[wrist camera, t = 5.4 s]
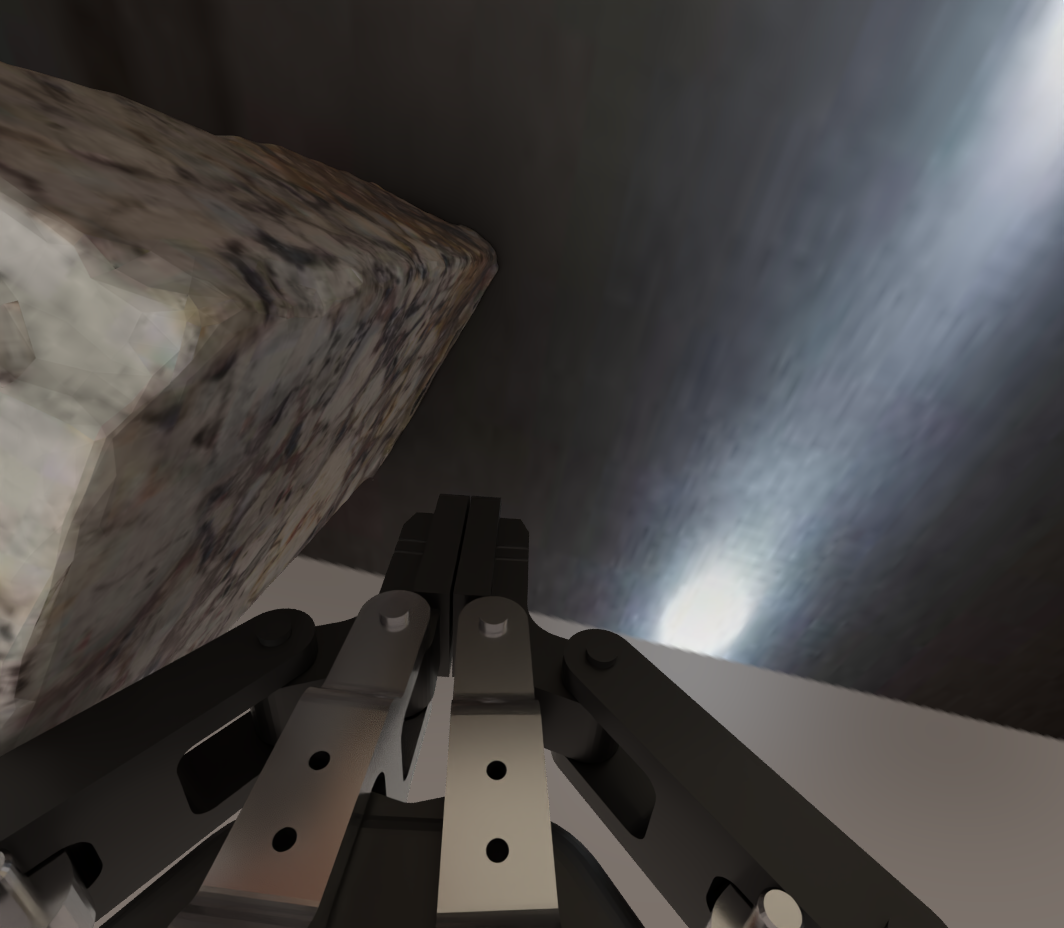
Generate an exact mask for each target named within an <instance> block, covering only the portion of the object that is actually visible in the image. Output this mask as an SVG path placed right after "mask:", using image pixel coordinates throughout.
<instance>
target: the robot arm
mask: <svg viewBox="0 0 1064 928" xmlns="http://www.w3.org/2000/svg"><path fill="white" fill-rule="evenodd" d="M500 512H501V498H495V497H480V496H472V498H471V503H470V496H464V495H449V494H440V496H439V499H438V503H437V506H436V510H435V513H434V514H432V513H416V514H415V515H414V516H413V517H411V518H410V519H409V520H408V521H407V522H406V523H405V524H404V526H403V528H402V531H401V534H400V537H399V541H398V542H397V545H396V548H395V553H394V554H393V556H392V559H391V562H390V565H389V568H388V570H387V573H386V576H385V579H384V582H383V584H382V588H381V590H380V593H379V594H378V595H376V596H374V597H372V598H371V599H370V600H368V601H367V602H366V603H365V604H364V605H363V606H362V608H361V610H360V612H359V614H358V616H357V617H354V618H352V619H349V620H346V621H342V622H337V623H332V624H326V625H321V626H315V624H314V622H313V620H312V618H311V617H310V616H309V615H308V614H306V613H305V612H302V611H300V610H296V609H276V610H272V611H268V612H265V613H262V614H260V615H258V616H256V617H254V618H252V619H250V620H248V621H247V622H245V623H243V624H241V625H239V626H237V627H236V628H234V629H232V630H230V631H228V632H227V633H225V634H223V635H221V636H219V637H217V638H216V639H214V640H212V641H210V642H208V643H206V644H205V645H203V646H201V647H199V648H197V649H195V650H194V651H192V652H190V653H188V654H186V655H185V656H183V657H181V658H179V659H177V660H175V661H174V662H172V663H170V664H168V665H166V666H164V667H163V668H161V669H159V670H157V671H155V672H153V673H152V674H150V675H148V676H146V677H144V678H142V679H141V680H139V681H137V682H135V683H133V684H132V685H130V686H128V687H126V688H124V689H122V690H121V691H119V692H117V693H115V694H113V695H111V696H110V697H108V698H106V699H104V700H102V701H100V702H99V703H97V704H95V705H93V706H91V707H90V708H88V709H86V710H84V711H82V712H80V713H79V714H77V715H75V716H73V717H71V718H69V719H68V720H66V721H64V722H62V723H60V724H58V725H57V726H55V727H53V728H51V729H49V730H48V731H46V732H44V733H42V734H40V735H38V736H37V737H35V738H33V739H31V740H29V741H27V742H26V743H24V744H22V745H20V746H18V747H16V748H15V749H13V750H11V751H9V752H7V753H6V754H4V755H2V756H0V928H93V926H94V923H95V922H96V921H98V920H99V919H100V918H101V917H103V916H104V915H105V914H107V913H108V912H109V911H110V910H112V909H113V908H114V907H115V906H117V905H118V904H119V903H121V902H122V901H123V900H125V899H126V898H127V897H128V896H130V895H131V894H132V893H134V892H135V891H136V890H137V889H138V888H140V887H141V886H142V885H144V884H145V883H146V882H148V881H149V880H150V879H151V878H153V877H154V876H155V875H157V874H158V873H159V872H160V871H161V870H163V869H164V868H165V867H167V866H168V865H169V864H171V863H172V862H173V861H175V860H176V859H177V858H178V857H180V856H181V855H182V854H184V853H185V852H186V851H187V850H189V849H190V848H191V847H192V846H194V845H195V844H196V843H198V842H199V841H200V840H201V839H203V838H204V837H205V836H207V835H208V834H209V833H210V832H212V831H213V830H214V829H216V828H217V827H218V826H219V825H221V824H222V823H223V822H225V821H226V820H227V819H228V818H230V817H231V816H232V815H234V814H235V813H236V812H237V811H238V810H240V809H241V808H242V810H241V811H240V813H239V815H238V817H237V819H236V820H234V821H232V822H231V823H229V824H227V825H226V826H224V827H223V828H221V829H220V830H219V831H217V832H215V833H214V834H212V835H211V836H210V837H209V838H207V839H206V840H205V841H203V842H202V843H201V844H200V845H199V846H197V847H196V848H195V849H194V850H193V851H191V852H190V853H189V854H188V855H186V856H185V857H184V858H183V859H182V860H180V861H179V862H178V863H177V864H175V865H174V866H173V867H172V868H171V869H169V870H168V871H167V872H166V873H165V874H163V875H162V876H161V877H160V878H158V879H157V880H156V881H155V882H154V883H152V884H151V885H150V886H149V887H148V888H146V889H145V890H144V891H143V892H142V893H140V894H139V895H138V896H137V897H135V898H134V899H133V900H132V901H131V902H129V903H128V904H127V905H126V906H125V907H123V908H122V909H121V910H120V911H119V912H117V913H116V914H115V915H114V916H112V917H111V918H110V919H109V920H107V922H105V923H104V924H103V925H101V926H100V927H99V928H645V927H644V926H643V924H642V923H641V921H640V920H639V919H638V917H637V916H636V915H635V913H634V912H633V910H632V909H631V908H630V906H629V905H628V903H627V902H626V900H625V899H624V898H623V896H622V895H621V894H620V892H619V891H618V889H617V888H616V887H615V885H614V884H613V882H612V881H611V879H610V878H609V877H608V875H607V874H606V873H605V871H604V870H603V868H602V867H601V865H600V864H599V863H598V861H597V860H596V859H595V858H594V856H593V855H592V854H591V853H590V852H589V851H588V850H587V848H586V847H585V846H584V845H583V844H582V843H581V842H579V841H578V840H577V839H576V838H575V837H574V836H573V835H571V834H570V833H569V832H567V831H566V830H564V829H563V828H561V827H560V826H558V825H557V824H555V823H553V822H551V821H550V811H549V800H548V789H547V778H546V767H545V756H544V748H546V749H548V750H551V754H552V756H553V759H554V762H555V763H556V764H557V766H558V767H559V769H560V770H561V771H562V772H563V774H564V775H565V776H566V777H567V778H568V780H569V781H570V782H571V783H572V785H573V786H574V787H575V788H576V790H577V791H578V792H579V793H580V795H581V796H582V797H583V798H584V799H585V801H586V802H587V803H588V804H589V805H590V807H591V808H592V809H593V810H594V812H595V813H596V814H597V815H598V816H599V818H600V819H601V820H602V821H603V823H604V824H605V825H606V826H607V828H608V829H609V830H610V831H611V832H612V834H613V835H614V836H615V838H616V839H617V840H618V841H619V842H620V844H621V845H622V846H623V847H624V848H625V850H626V851H627V852H628V853H629V855H630V856H631V857H632V858H633V860H634V861H635V862H636V863H637V865H638V866H639V867H640V868H641V869H642V871H643V872H644V873H645V874H646V876H647V877H648V878H649V879H650V880H651V882H652V883H653V884H654V885H655V887H656V888H657V889H658V890H659V892H660V893H661V894H662V895H663V896H664V898H665V899H666V900H667V901H668V903H669V904H670V905H671V906H672V908H673V909H674V910H675V911H676V913H677V914H678V915H679V916H680V917H681V919H682V920H683V921H684V922H685V924H686V925H687V926H688V927H689V928H948V927H947V926H946V925H945V924H944V923H943V921H942V920H941V919H940V918H939V917H938V916H937V915H936V914H935V913H934V912H933V911H932V910H931V909H930V908H928V907H927V906H926V905H925V904H924V903H923V902H922V901H920V900H919V899H918V898H917V897H916V896H915V895H913V893H911V892H910V891H909V890H908V889H907V888H906V887H905V886H903V885H902V884H901V883H900V882H899V881H898V880H897V879H896V878H894V877H893V876H892V875H891V874H890V873H889V872H888V871H886V870H885V869H884V868H883V867H882V866H881V865H880V864H879V863H877V862H876V861H875V860H874V859H873V858H872V857H871V856H870V855H868V854H867V853H866V852H865V851H864V850H863V849H862V848H860V847H859V846H858V845H857V844H856V843H855V842H854V841H853V840H851V839H850V838H849V837H848V836H847V835H846V834H845V833H844V832H842V831H841V830H840V829H839V828H838V827H837V826H836V825H834V824H833V823H832V822H831V821H830V820H829V819H828V818H827V817H825V816H824V815H823V814H822V813H821V812H819V810H817V809H816V808H815V807H814V806H813V805H812V804H811V803H809V802H808V801H807V800H806V799H805V798H804V797H803V796H802V795H800V794H799V793H798V792H797V791H796V790H795V789H794V788H792V787H791V786H790V785H789V784H788V783H787V782H786V781H785V780H784V779H782V778H781V777H780V776H779V775H778V774H777V773H776V772H774V771H773V770H772V769H771V768H770V767H769V766H767V764H765V763H764V762H763V761H762V760H761V759H759V757H757V756H756V755H755V754H754V753H753V752H752V751H751V750H750V749H748V748H747V747H746V746H745V745H744V744H743V743H741V741H739V740H738V739H737V738H736V737H735V736H734V735H732V734H731V733H730V732H729V731H728V730H727V729H726V728H725V727H724V726H722V725H721V724H720V723H719V722H718V721H717V720H716V719H714V718H713V717H712V716H711V715H710V714H709V713H708V712H707V711H705V710H704V709H703V708H702V707H701V706H700V705H699V704H697V703H696V702H695V701H694V700H693V699H691V697H690V696H688V695H687V694H686V693H685V692H684V691H683V690H681V689H680V688H679V687H678V686H677V685H676V684H675V683H674V682H673V681H671V680H670V679H669V678H668V677H667V676H666V675H664V673H662V672H661V671H660V670H659V669H658V668H657V667H655V666H654V665H653V664H652V663H651V662H650V661H649V660H648V659H647V658H645V657H644V656H643V655H642V654H641V653H640V652H639V651H637V650H636V649H635V648H634V647H633V646H632V645H631V644H630V643H628V642H627V641H626V640H625V639H624V638H622V637H621V636H619V635H617V634H615V633H613V632H610V631H606V630H601V629H588V630H584V631H581V632H578V633H576V634H575V635H573V636H572V637H571V638H570V639H569V640H568V639H565V638H562V637H559V636H556V635H553V634H551V633H548V632H547V631H545V630H543V629H542V628H540V627H539V626H538V625H537V624H536V623H535V622H534V621H533V620H532V618H531V616H530V614H529V612H528V607H527V594H528V552H529V550H528V549H529V532H528V530H527V529H526V527H525V525H524V524H523V522H522V521H521V519H507V518H500ZM452 657H453V662H452ZM451 663H453V665H452V677H454V691H453V700H452V703H451V716H450V731H449V745H448V760H447V774H446V789H445V797H441V798H436V799H431V800H426V801H421V802H417V803H407V797H408V793H409V789H410V785H411V781H412V778H413V774H414V771H415V767H416V763H417V760H418V756H419V753H420V749H421V746H422V742H423V738H424V735H425V731H426V727H427V724H428V720H429V717H430V713H431V709H432V698H433V695H434V691H435V686H436V681H437V676H442V677H449V674H450V668H451ZM249 708H250V710H251V711H249V712H248V713H246V714H245V715H243V716H242V717H240V718H239V719H237V720H236V721H234V722H233V723H231V724H230V725H228V726H227V727H225V728H224V729H222V730H221V731H219V732H218V733H216V734H215V735H213V736H212V737H210V738H209V739H207V740H206V741H204V742H203V743H201V744H200V745H198V746H197V747H195V748H194V749H192V750H191V751H189V752H188V753H186V752H187V751H188V750H189V749H190V748H191V747H192V746H194V745H195V744H196V743H198V742H199V741H201V740H202V739H204V738H205V737H207V736H208V735H210V734H211V733H213V732H214V731H216V730H218V729H219V728H220V727H222V726H223V725H225V724H227V723H228V722H229V721H231V720H233V719H234V718H236V717H237V716H239V715H240V714H242V713H243V712H245V711H246V710H248V709H249ZM185 753H186V754H185ZM184 754H185V755H184Z"/></svg>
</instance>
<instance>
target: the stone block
mask: <svg viewBox="0 0 1064 928" xmlns="http://www.w3.org/2000/svg"><path fill="white" fill-rule="evenodd" d="M498 268H499V267H498V264H497V255H496V252H495V250H494V249H493V247H492V246H491V245H490V243H489V242H488V241H486V240H485V239H483V238H482V237H481V236H480V235H479V234H478V233H477V232H475V231H474V230H472V229H470V228H468V227H466V226H463V225H461V224H460V225H458V226H457V225H454V224H450V223H447V222H445V221H444V220H442V219H440V218H438V217H436V216H434V215H432V214H429V213H426V212H424V211H422V210H420V209H419V208H417V207H415V206H413V205H412V204H410V203H408V202H406V201H405V200H403V199H400V198H398V197H396V196H395V195H393V194H391V193H389V192H387V191H385V190H384V189H383V188H381V187H380V186H378V185H377V184H375V183H372V182H370V183H369V182H366V181H363V180H361V179H359V178H357V177H355V176H354V175H352V174H350V173H348V172H346V171H341V170H337V169H335V168H332V167H329V166H327V165H326V164H324V163H322V162H319V161H315V160H312V159H309V158H307V157H304V156H302V155H300V154H298V153H295V152H292V151H290V150H288V149H286V148H283V147H281V146H277V145H273V144H262V143H257V142H253V141H250V140H247V139H244V138H241V137H237V136H214V135H212V134H210V133H208V132H206V131H204V130H201V129H199V128H197V127H195V126H192V125H190V124H188V123H185V122H183V121H180V120H178V119H176V118H173V117H171V116H168V115H166V114H163V113H161V112H159V111H156V110H154V109H151V108H149V107H146V106H144V105H142V104H139V103H137V102H134V101H132V100H130V99H127V98H125V97H122V96H120V95H117V94H114V93H109V92H105V91H100V90H95V89H90V88H87V87H84V86H81V85H78V84H75V83H72V82H69V81H66V80H63V79H59V78H56V77H52V76H49V75H45V74H42V73H38V72H35V71H31V70H28V69H24V68H20V67H16V66H12V65H8V64H5V63H3V62H0V756H2V755H4V754H6V753H7V752H9V751H11V750H13V749H15V748H16V747H18V746H20V745H22V744H24V743H26V742H27V741H29V740H31V739H33V738H35V737H37V736H38V735H40V734H42V733H44V732H46V731H48V730H49V729H51V728H53V727H55V726H57V725H58V724H60V723H62V722H64V721H66V720H68V719H69V718H71V717H73V716H75V715H77V714H79V713H80V712H82V711H84V710H86V709H88V708H90V707H91V706H93V705H95V704H97V703H99V702H100V701H102V700H104V699H106V698H108V697H110V696H111V695H113V694H115V693H117V692H119V691H121V690H122V689H124V688H126V687H128V686H130V685H132V684H133V683H135V682H137V681H139V680H141V679H142V678H144V677H146V676H148V675H150V674H152V673H153V672H155V671H157V670H159V669H161V668H163V667H164V666H166V665H168V664H170V663H172V662H174V661H175V660H177V659H179V658H181V657H183V656H185V655H186V654H188V653H190V652H192V651H194V650H195V649H197V648H199V647H201V646H203V645H205V644H206V643H208V642H210V641H212V640H214V639H216V638H217V637H219V636H221V635H223V634H225V633H226V632H227V631H228V630H229V629H230V628H231V627H232V625H233V624H234V623H235V622H236V621H237V620H238V619H239V618H240V617H241V616H242V615H243V614H244V613H245V612H246V611H247V610H248V608H249V607H250V606H251V605H252V604H253V603H254V602H255V601H256V600H257V599H258V597H259V596H260V595H261V594H262V593H263V592H264V591H265V589H266V588H267V587H268V586H269V585H270V584H271V583H272V582H273V581H274V580H275V579H276V578H277V577H278V576H279V575H280V574H281V573H282V571H283V570H284V569H285V568H286V567H287V566H288V565H289V563H291V562H292V561H293V560H294V559H295V558H296V557H297V556H298V554H299V553H300V552H301V551H302V549H303V548H304V547H305V546H306V545H307V544H308V543H309V542H310V541H311V539H312V538H313V537H314V536H315V535H316V534H317V533H318V531H319V530H320V529H321V528H322V527H323V526H324V525H325V524H326V523H327V521H328V520H329V519H330V518H331V516H332V515H333V514H334V513H335V512H336V511H337V510H338V509H339V508H340V506H341V505H342V504H343V503H344V502H345V501H347V500H348V498H349V497H350V495H351V494H352V493H353V492H354V491H355V490H356V489H357V487H358V486H359V485H360V484H361V483H362V482H363V481H364V480H366V479H368V478H370V477H373V476H374V475H375V473H376V472H377V470H378V469H379V467H380V466H381V464H382V463H383V461H384V460H385V459H386V457H387V456H388V454H389V453H390V451H391V449H392V447H393V445H394V443H395V442H396V440H397V439H398V437H399V436H400V434H401V433H402V431H403V430H404V428H405V427H406V425H407V424H408V423H409V421H410V419H411V418H412V416H413V414H414V413H415V411H416V409H417V408H418V406H419V404H420V403H421V401H422V399H423V398H424V396H425V394H426V392H427V390H428V388H429V386H430V384H431V382H432V380H433V378H434V376H435V375H436V373H437V371H438V370H439V368H440V366H441V365H442V363H443V361H444V360H445V358H446V356H447V355H448V353H449V351H450V350H451V348H452V346H453V345H454V343H455V341H456V340H457V338H458V336H459V335H460V333H461V331H462V330H463V328H464V326H465V325H466V323H467V321H468V320H469V318H470V317H471V315H472V314H473V312H474V310H475V309H476V307H477V305H478V303H479V301H480V299H481V297H482V296H483V294H484V292H485V291H486V289H487V288H488V286H489V284H490V283H491V281H492V279H493V278H494V276H495V274H496V273H497V271H498ZM373 481H374V480H373Z"/></svg>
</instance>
